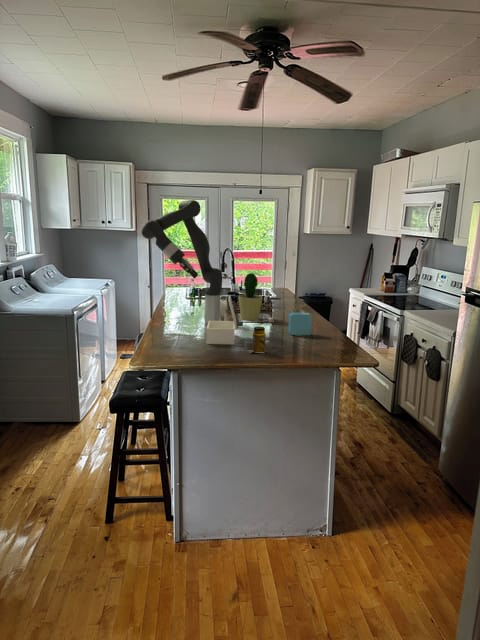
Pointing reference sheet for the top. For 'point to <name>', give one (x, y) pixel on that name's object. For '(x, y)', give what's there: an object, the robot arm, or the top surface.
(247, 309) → the potted cactus
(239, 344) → the top surface
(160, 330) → the top surface
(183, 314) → the top surface
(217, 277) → the robot arm
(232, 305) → the lid
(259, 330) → the condiment
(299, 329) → the data package
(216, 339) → the box
